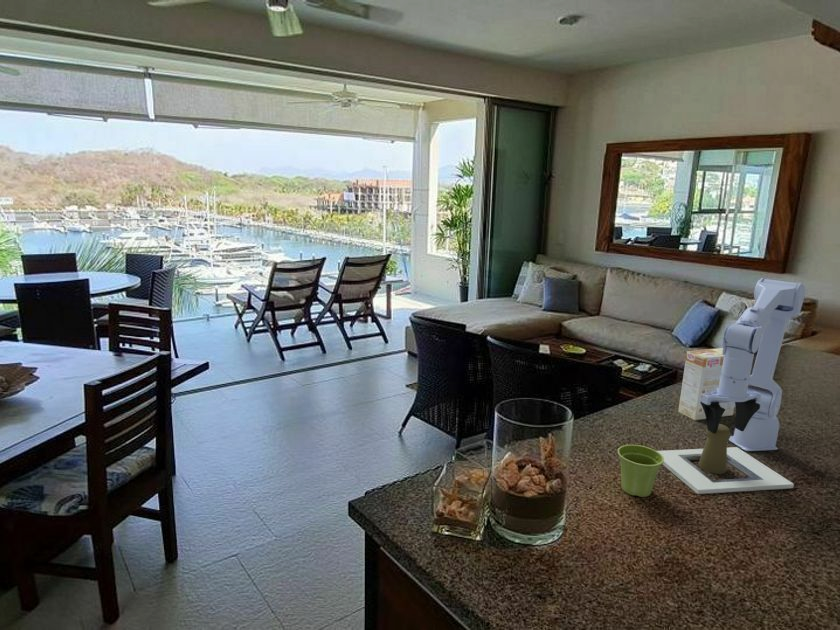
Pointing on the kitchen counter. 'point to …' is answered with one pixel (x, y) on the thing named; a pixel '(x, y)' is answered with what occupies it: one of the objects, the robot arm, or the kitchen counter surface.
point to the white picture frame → (704, 484)
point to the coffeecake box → (701, 382)
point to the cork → (715, 451)
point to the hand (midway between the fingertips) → (725, 430)
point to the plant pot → (639, 469)
